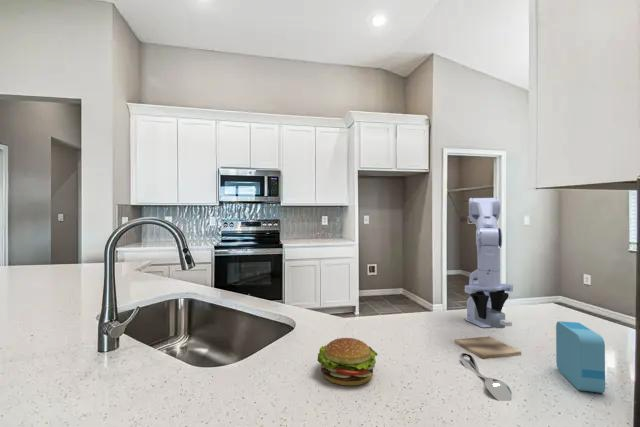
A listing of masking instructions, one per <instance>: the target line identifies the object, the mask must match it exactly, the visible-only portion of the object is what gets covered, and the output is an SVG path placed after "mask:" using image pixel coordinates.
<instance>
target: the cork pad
mask: <svg viewBox="0 0 640 427" xmlns="http://www.w3.org/2000/svg"><path fill="white" fill-rule="evenodd" d="M453 342H454V343H455V344H456V345H458V346H460V347H462V348H464V349H465V350H467V351H469V352H470V353H472V354H473V355H475V356H476V357H478V358H480V359H483V360H484V359H485V360H486V359H494V358H495V359H497V358H501V357H502V358H503V357H511V356H513V357H514V356H521V355H522V351H521V350H518V349H516V348H514V347H512V346H510V345H507V344H506V343H504V342H502V341H500V340H497V339H496V338H494V337H491V336H478V337H468V338H457V339H454V340H453Z"/></svg>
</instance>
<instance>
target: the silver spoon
mask: <svg viewBox="0 0 640 427" xmlns="http://www.w3.org/2000/svg"><path fill="white" fill-rule="evenodd" d="M465 357H466V358H468V359H466V358H465ZM459 359H460V362H461V363H462V364H463V366H464V367H465V368H466V369H467V370H469V371H471V372H473V374H474V375H476V376H477V377H479V378H482V379H485V381H484V386H485V387H486V389H487V390H488V391H489V393H490V394H491V395H492V396H493V397H494V398H495V400H497V401H499V402H510V400H511V399H512V389H511V388H510V387H509V385H508V384H507V383H506V382H504V381H502V380H500V379H497V378H492V377H487V376H485V375H482V374H481V372H480V371H479V370H480V369H479V366H478V363H477V361H476V360H475V358H474V357H473V356H472V355H470V354H469V353H464V352H462V353H461V354H459ZM468 360H469V361H468ZM469 362H470V363H469Z"/></svg>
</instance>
